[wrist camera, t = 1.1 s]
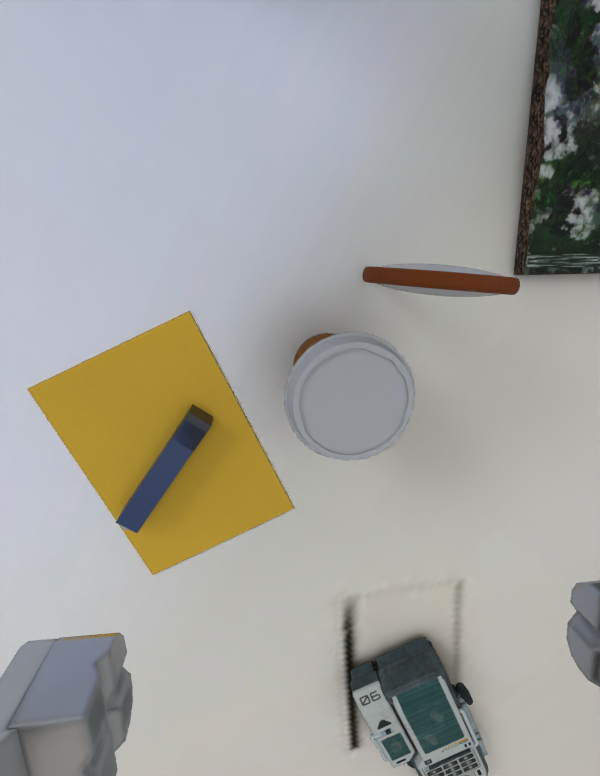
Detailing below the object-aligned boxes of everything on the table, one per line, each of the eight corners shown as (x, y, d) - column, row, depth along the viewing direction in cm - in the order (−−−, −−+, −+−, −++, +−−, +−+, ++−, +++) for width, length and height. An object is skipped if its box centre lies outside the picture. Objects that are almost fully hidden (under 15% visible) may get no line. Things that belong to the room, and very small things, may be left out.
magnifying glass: (321, 280, 41) (384, 293, 22) (323, 260, 41) (389, 256, 21) (413, 288, 42) (551, 307, 23) (416, 269, 42) (559, 272, 22)
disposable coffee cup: (394, 374, 44) (445, 413, 33) (315, 433, 45) (338, 491, 33) (337, 294, 42) (371, 305, 30) (255, 358, 42) (257, 392, 31)
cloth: (28, 388, 41) (27, 389, 41) (189, 311, 40) (189, 311, 40) (153, 573, 47) (153, 575, 47) (293, 507, 47) (294, 508, 46)
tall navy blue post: (139, 525, 45) (133, 540, 43) (118, 514, 45) (110, 529, 42) (213, 416, 43) (211, 425, 41) (192, 403, 42) (189, 412, 40)
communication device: (409, 792, 59) (436, 880, 51) (340, 666, 52) (358, 744, 44) (494, 755, 59) (534, 837, 51) (436, 623, 52) (472, 693, 44)
